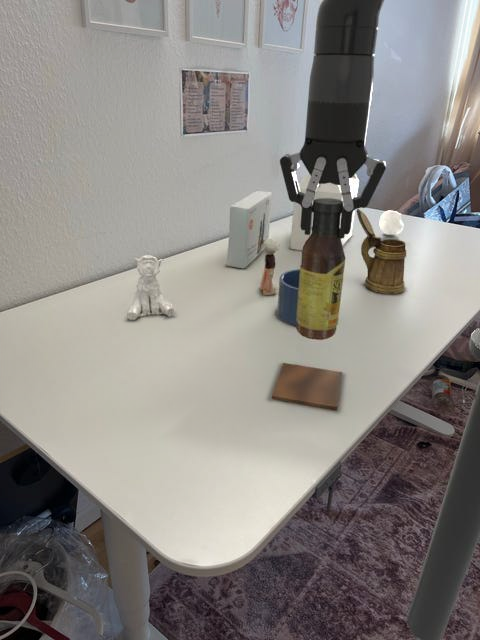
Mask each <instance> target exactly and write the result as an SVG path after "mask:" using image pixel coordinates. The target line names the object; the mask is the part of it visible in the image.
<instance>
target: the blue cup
mask: <svg viewBox="0 0 480 640" xmlns="http://www.w3.org/2000/svg"><path fill="white" fill-rule="evenodd" d="M299 277H300V268H297V269H291V270H287V271H284V272H283V273H282V274H280V276H279V281H278V282H279V283H278V296H277V316H278V318H279V319H280V320H281V321H282V322H284V323H286V324H289V325H291V326H295V327H296V325H297V321H296V317H297V302H298V290H299Z"/></svg>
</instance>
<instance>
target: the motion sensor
mask: <svg viewBox="0 0 480 640" xmlns="http://www.w3.org/2000/svg"><path fill="white" fill-rule="evenodd" d="M401 216H402V214H401V213H400V212H398V211H395V210H392V209H389V210H386V211H385V212H383V213H382V214H381V215H380V218H379V220H378V226H379V230H380V231H381V232H382V233H383V234H385V235H387V236H395V235H398V234H400V233H402V231H403V230H404V222H403V221H402V218H401Z"/></svg>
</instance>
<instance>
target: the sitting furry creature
mask: <svg viewBox="0 0 480 640" xmlns="http://www.w3.org/2000/svg"><path fill="white" fill-rule="evenodd" d="M133 260H134V262H135V264H136V270H137V272H138V275H140V277H139V278H138V279H137V283H136V285H135V288H136V291H135V294H134V295H135V296H134V297H133V300H134V301H133V303H132V304H131V305H130V306H129V307H128V308H129V309H128V310H127V314H126V317H127V319H129V320H131V321H135V320H137V318H140V317H147V316H150V315H152V316H157V315H166V316H167V317H168V318H171V317H173V316H174V314H175V309H174V306H172V303H170V302H169V301H168V300H166V298H165V296H164V295H163V293H162V291H161V287H160V285H161V284H160V282H159V280H158V279H157V275H158V274H159V273H160V271H161V270H160V267H161V264H162V261H163V258H160V259H158V258H157V257H155V256H153V255H151V254H147V255H142V256H140V258H137V257H133Z"/></svg>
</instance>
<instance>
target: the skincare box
mask: <svg viewBox="0 0 480 640" xmlns="http://www.w3.org/2000/svg"><path fill="white" fill-rule="evenodd" d="M272 205H273V192H269V191H263V190H255V191H254V192H252V193H250V194H248V195H246V196H244V197H243V198H242V199H240V200H238V201H237V202H235V203H233V204H232V205H230V208H229V226H228V247H227V261H226V266H227V267H233V268H239V269H246V267H247V266H248V265H250V264H251V263H252V262H253V261H254V260H255V259H256V258H257V257H258V256H259V255H260V254H261V253H262V252H263V251H264V248H265V241H266V240H267V239H270V238H269V236H270V226H271V216H272Z"/></svg>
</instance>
